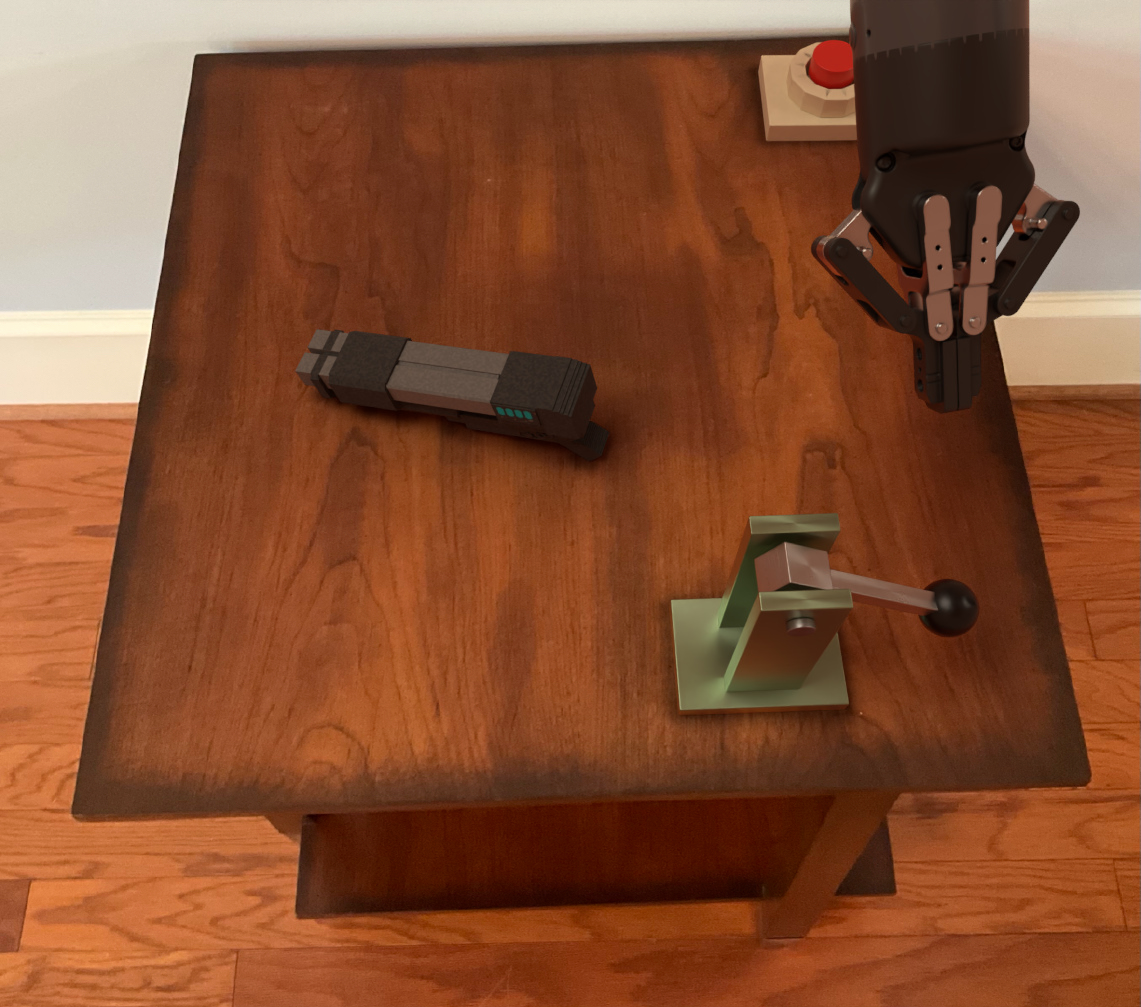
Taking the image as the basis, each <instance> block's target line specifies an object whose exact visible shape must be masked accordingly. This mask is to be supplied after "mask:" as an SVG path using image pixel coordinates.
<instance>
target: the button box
mask: <svg viewBox="0 0 1141 1007" xmlns="http://www.w3.org/2000/svg"><path fill="white" fill-rule="evenodd" d="M822 42H823V41H817V42H814V43H812V44H809V45H807V46H805V47H802V48H800V49H799V50H798V51H797V52H796V54H780V55H779V54H770V55H769V54H767V55H765V54H763V55H761V56H760V60H759V65H758V71H757V74H758V82H759V90H760V98H761V99H760V100H761V108H762V115H763V124H764V134H765V141H766V142H815V141H817V142H820V141H821V142H822V141H823V142H825V141H826V142H828V141H829V142H831V141H834V142H835V141H857V131H856V113H855V94H854V79H853V81H852V82H851V84H850V85H848V86H847V87H845V88H842V89H827V88H824V87H822V86H819V85H816V84H815V83H814V82H813V81H812V80H811V79H810V76H809V67H810V62H811V58H812V54H813V50H814V49H815V47H816V46H817V45H818V44H820V43H822Z"/></svg>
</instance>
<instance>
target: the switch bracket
mask: <svg viewBox="0 0 1141 1007" xmlns="http://www.w3.org/2000/svg"><path fill="white" fill-rule="evenodd" d="M839 517H840V516H839V514H838V512H827V513H825V512H823V513H800V514H799V513H798V514H771V515H769V514H768V515H749V516H748V519H747V522H746V524H745V527H744V531H743V534H742V538H741V540H740V543H739V546H738V549H737V552H736V555H735V559H734V561H733V565H732V567H731V570H730V573H729V575H728V576H729V577H728V579H727V582H726V585H725V589H724V592H723V594H722V597H705V598H703V597H702V598H676V599H675V598H673V599H670V600H669V604H668V608H669V610H668V611H669V621H670V623H669V624H670V634H671V646H672V648H671V649H672V659H673V670H674V671H673V672H674V682H675V684H674V685H675V695H676V708H677V709H676V710H677V716H701V715H703V716H704V715H726V714H727V715H729V714H732V715H733V714H757V713H758V714H759V713H783V712H784V713H786V712H814V711H839V710H841V711H842V710H846V709H847V707H848V706H849V705H850V701H849V700H850V699H849V695H848V694H849V693H848V688H847V682H846V681H847V680H846V675H845V670H844V669H845V668H844V662H843V657H842V650H841V644H840V638H839V630H840V628H841V627H842V625H843V624H844V623H845V621H846V620H847V618H848V616H849V615H850V614H851V612H852V610H853V609H854V602H853V601H852V595H851V590H850V589H824V590H796V591H768V592H758V585H757V577H756V569H755V558H757V557H759V556H760V555H762V554H764V553H766V552H767V551H769V550H771V549H773V548H774V547H776V546H778V545H780V544H781V543H783V542H789V543H793V544H798V545H802V546H806V547H810V548H815V549H819V550H823V551H827V552H828V555H829V554H830V552H831V550H832V548H833V546H834V544H835V543H836V540H837V539H838V536H839V535H840V533H841V524H840V519H839Z"/></svg>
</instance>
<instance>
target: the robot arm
mask: <svg viewBox="0 0 1141 1007" xmlns="http://www.w3.org/2000/svg"><path fill="white" fill-rule="evenodd" d="M849 16H850V24H849V25H850V26H849V28H848V41H849V42H848V43H849V44H850V46H851V49H852V56H853V75H854V94H855V113H856V131H857V140H856V143H857V144H856V146H857V148H856V149H857V156H858V162H859V173H858V177H857V181H856V184H855V187H854V188H853V191H852V193H851V203H850V204H851V208H852V210H851V212H850V213H849V214H847V216H846V217H845V218H844V219H843V220H842V221H841V222H840V223H839V224H838V225H837V226H836V227H835V229H834V230H832V231H831V233H830V234H828V235H826V234H825V235H824V234H822V235H818V236H817V237H816V238H814V240H813V241H812V242H811V246H810V253H811V255H812V257H813V259H814V260H816V261H817V262H818V263H819V265H821V267H822V268H823V269H824V270H825V271H826V272H827V273H828V274H829V275H830V276H831V277H832V278H833V280H834V281H835V282H836V283H837V284H838V285H839V286H840V287H841V288H842V289H843V290H844V292H846V294H847V295H848V296H849V297H850V298H851V299H852V300H853V301H854V302H855V303H856V305H857V306H859V307H860V308H861V310H862V311H863V312H864V313H865V314H866V315H867V316H868V317H869V319H871V320H872V322H873V323H874V324H875V325H876V326H878V327H881V328H883V329H887V330H889V331H893V332H896V333H899V334H903V335H908V336H909V337H910V339H911V342H912V360H913V378H914V379H913V385H914V392H915V393H916V396H917V398H918V399H919V400H920V401H924V402H925V406H926V407H927V408H928V409H930V410H931V411H934V412H936V413H938V414H941V415H943V414H948V413H954V412H958V411H964V410H969V409H971V408H972V406H973V397H978V396H979V393H980V390H981V388H982V341H981V340H982V339H981V338H982V333H983V331H984V330H985V328H986V326H988V325H989V324H990V323H992V322H994V321H995V320H997V319H999V318H1000V317H1011V316H1013V315H1015V314H1017V313H1018V312H1019V311H1020V309H1021V308H1022V306H1023V304H1024V303H1025V301H1026V300H1027V298H1028V297H1029V296H1030V294H1031V292H1032V291H1033V289H1034V287H1035V286H1036V285H1037V284H1038V282H1039V280H1040V279H1041V277H1042V275H1043V274H1044V272H1045V271H1046V270H1047V268H1048V266H1049V264H1050V263H1051V262H1052V260H1053V259H1054V257H1055V255H1056V254H1057V252H1058V251H1059V250H1060V248H1061V246H1062V245H1063V244H1064V242H1065V240H1066V239H1067V237H1068V236H1069V234H1070V232H1072V230H1073V228H1074V226H1075V225H1076V224H1077V222H1078V220H1079V218H1080V215H1081V209H1080V206H1079V205H1078V203H1077V202H1075V201H1074V200H1064V199H1058V198H1056V197H1055V196H1053V195H1052V194H1051V193H1049V192H1048V191H1046V190H1044V189H1043V188H1042V187H1040V186H1039V185H1037V184H1036V183H1035V181H1036V171H1035V170H1036V169H1035V167H1034V164H1033V162H1032V161H1031V159H1030V157H1029V155H1028V152H1027V147H1026V138H1027V132H1028V130H1029V126H1030V122H1031V120H1030V116H1031V114H1030V113H1031V112H1030V111H1031V110H1030V109H1031V108H1030V106H1031V105H1030V104H1031V103H1030V102H1031V101H1030V100H1031V99H1030V95H1031V94H1030V93H1031V92H1030V88H1031V86H1030V85H1031V84H1030V83H1031V82H1030V72H1031V70H1030V54H1031V53H1030V52H1031V51H1030V50H1031V49H1030V46H1031V45H1030V31H1031V30H1030V0H849ZM1010 227H1012V230H1013V233H1012V234H1011V235H1010V237H1009V238H1008V239H1007V241H1006V243H1005V245H1004V246H1003V248H1002V249H1001V251H1000V253H999V254H998V255H997V248H998V246H999V245H1000V244H1001V242H1002V240H1003V238H1004V237H1005V235H1006V234H1007V232H1008V230H1009V228H1010ZM869 234H870V235H871V236H872V237H873V238H874V240H875V241H876V242H877V243H878V245H879V246H880V247H881V249H883V251H884V252H885V253H886V255H888V257H889V258H890V259H891V260H892V261H893V262H894V263H896V271H897V272H896V273H897V280H898V284H899V288H900V289H901V291H902V292H903V296H904V298H903V297H902V296H901V295H900V294H899V292H897V290H895V289H894V288H893V286H892V285H891V284H890V283H889V282H888V281H887V279H886V278H885V277H884V276H883V274H881V273H880V272H879V271H878V270H877V269H876V268H875V267H874V265H873V264H872V263H871V262H870V261H871V260H872V258H873V256H874V246H873V244H872V242H871V241H870V238H869V237H870V236H869Z"/></svg>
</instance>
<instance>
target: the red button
mask: <svg viewBox="0 0 1141 1007" xmlns="http://www.w3.org/2000/svg"><path fill="white" fill-rule="evenodd" d="M821 42H822V43H820V44H818V45H817V46H816V47H815V49H814V50H813V54H812V58H811V62H810V67H809V76H810V79H811V80H812V81H813V82H814V83H815V84H816V85H819V86H822V87H824V88H827V89H842V88H845V87H847V86H848V85H850V84H851V82H852V81H853V79H854V75H853V56H852V49H851V46H850V43H849V42H846V41H843V40H839V39H828V40H825V41H821Z"/></svg>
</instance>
